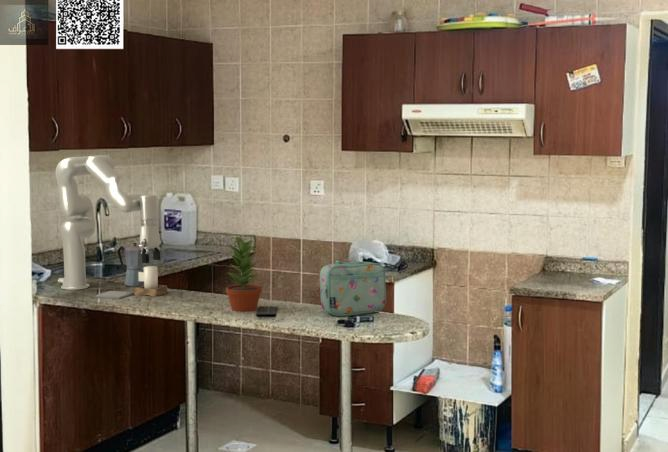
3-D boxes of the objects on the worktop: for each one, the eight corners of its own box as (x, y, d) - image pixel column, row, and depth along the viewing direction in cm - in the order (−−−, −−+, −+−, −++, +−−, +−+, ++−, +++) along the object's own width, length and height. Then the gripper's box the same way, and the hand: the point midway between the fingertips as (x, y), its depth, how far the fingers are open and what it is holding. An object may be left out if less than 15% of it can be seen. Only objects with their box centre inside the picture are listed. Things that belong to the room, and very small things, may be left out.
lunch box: (326, 318, 385) (326, 264, 383) (316, 314, 395) (316, 260, 392) (388, 313, 396) (388, 259, 393) (376, 308, 405) (376, 256, 403)
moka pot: (144, 287, 456) (143, 244, 454) (113, 286, 460) (112, 243, 457) (152, 284, 466) (151, 241, 464) (121, 283, 469) (120, 241, 467)
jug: (136, 294, 440) (135, 267, 438) (143, 291, 445) (142, 265, 444) (153, 295, 437) (153, 268, 435) (160, 293, 442) (159, 266, 441)
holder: (134, 295, 437) (134, 288, 437) (146, 291, 447) (146, 284, 447) (155, 296, 434) (155, 289, 434) (167, 292, 444) (167, 285, 443)
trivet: (95, 297, 433) (95, 295, 433) (110, 292, 444) (110, 290, 444) (119, 298, 429) (119, 297, 429) (133, 294, 440) (133, 292, 440)
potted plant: (249, 314, 395) (247, 239, 391) (219, 310, 403) (217, 236, 399) (270, 307, 407) (270, 235, 404) (241, 304, 415) (240, 233, 412)
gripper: (151, 220, 446) (153, 258, 448) (131, 224, 430) (133, 264, 432) (166, 220, 444) (168, 258, 446) (147, 225, 428) (149, 264, 429)
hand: (151, 261), depth 439 cm, fingers open, 9 cm apart
